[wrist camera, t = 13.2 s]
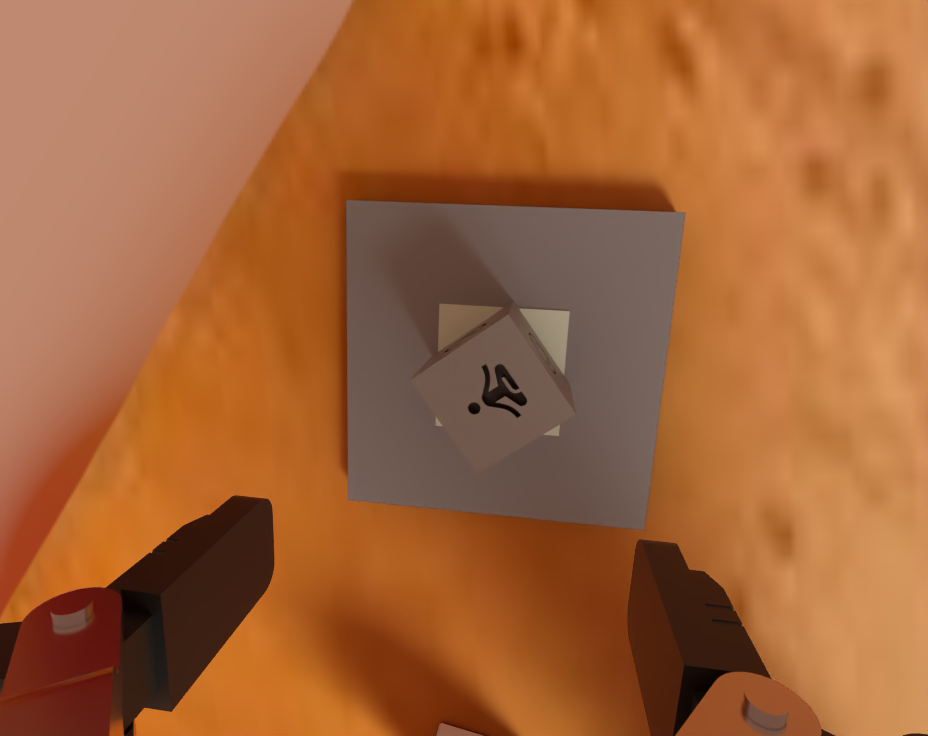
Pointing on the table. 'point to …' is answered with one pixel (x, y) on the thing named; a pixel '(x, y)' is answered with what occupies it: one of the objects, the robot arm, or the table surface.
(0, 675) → the robot arm
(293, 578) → the table surface
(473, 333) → the dice cube
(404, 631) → the table surface
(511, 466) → the plate
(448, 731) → the skincare box
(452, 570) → the table surface
